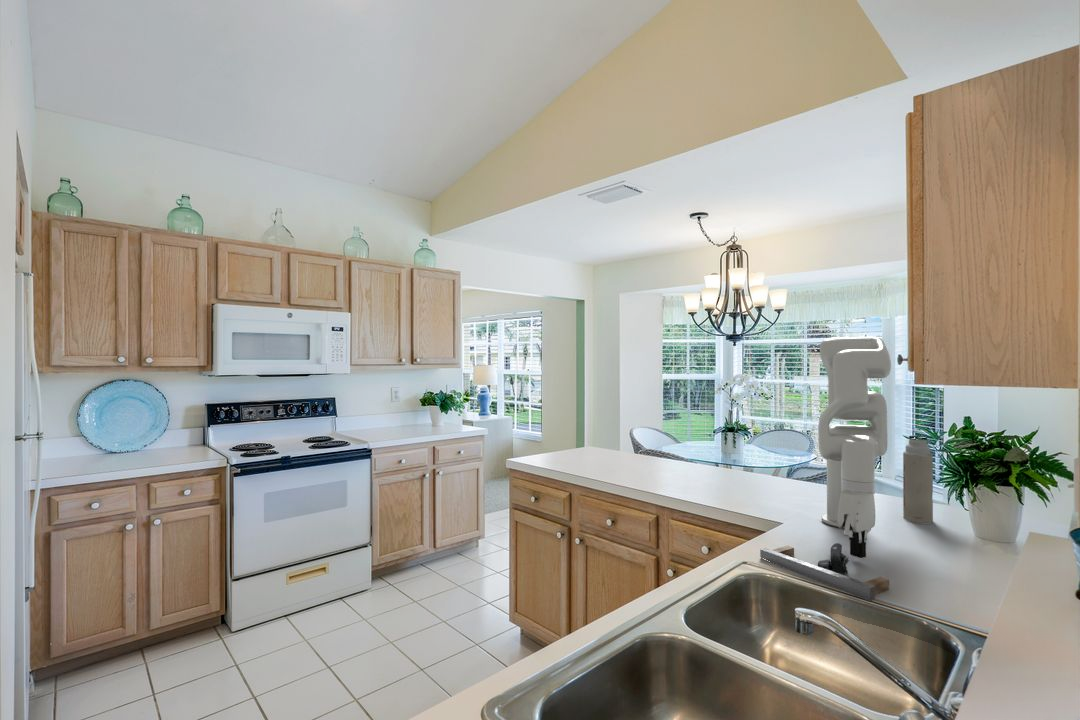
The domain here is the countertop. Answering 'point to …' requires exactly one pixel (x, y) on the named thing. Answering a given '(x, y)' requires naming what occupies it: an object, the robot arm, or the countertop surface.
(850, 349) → the robot arm
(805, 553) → the countertop surface
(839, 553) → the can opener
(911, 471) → the thermos bottle
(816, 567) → the dock
